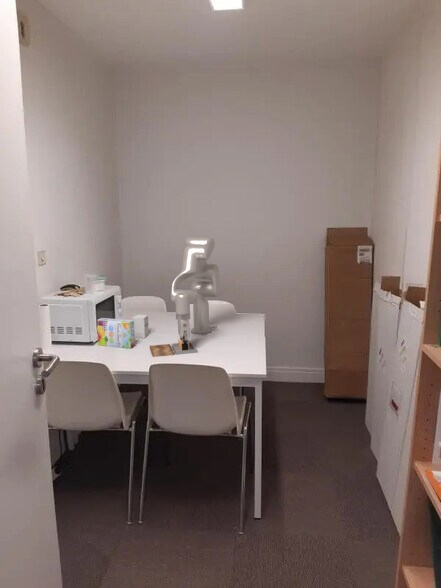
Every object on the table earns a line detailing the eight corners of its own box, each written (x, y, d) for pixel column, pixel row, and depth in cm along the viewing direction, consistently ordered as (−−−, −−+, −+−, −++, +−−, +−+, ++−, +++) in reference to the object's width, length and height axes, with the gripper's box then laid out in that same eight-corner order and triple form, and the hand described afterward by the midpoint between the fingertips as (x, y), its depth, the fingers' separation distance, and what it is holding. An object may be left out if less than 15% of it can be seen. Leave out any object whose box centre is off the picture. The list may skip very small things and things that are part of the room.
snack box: (135, 346, 250) (134, 319, 247) (130, 349, 245) (129, 322, 242) (103, 342, 257) (101, 317, 254) (97, 345, 252) (95, 319, 249)
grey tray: (191, 346, 248) (191, 341, 248) (196, 354, 235) (196, 349, 235) (171, 348, 246) (171, 343, 245) (176, 356, 232) (175, 351, 232)
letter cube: (187, 347, 243) (187, 338, 242) (189, 350, 239) (189, 341, 238) (178, 348, 242) (178, 339, 241) (180, 351, 237) (179, 342, 236)
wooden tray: (169, 348, 245) (169, 343, 245) (174, 356, 232) (174, 351, 232) (149, 350, 243) (149, 345, 242) (152, 358, 229) (152, 353, 229)
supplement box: (144, 338, 264) (143, 317, 261) (133, 338, 265) (132, 317, 263) (149, 335, 271) (148, 314, 268) (137, 334, 272) (136, 314, 270)
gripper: (193, 319, 230) (194, 353, 233) (186, 312, 246) (187, 343, 249) (178, 320, 228) (179, 354, 231) (173, 313, 244) (174, 345, 247)
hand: (183, 348), depth 240 cm, fingers closed on letter cube, 4 cm apart
